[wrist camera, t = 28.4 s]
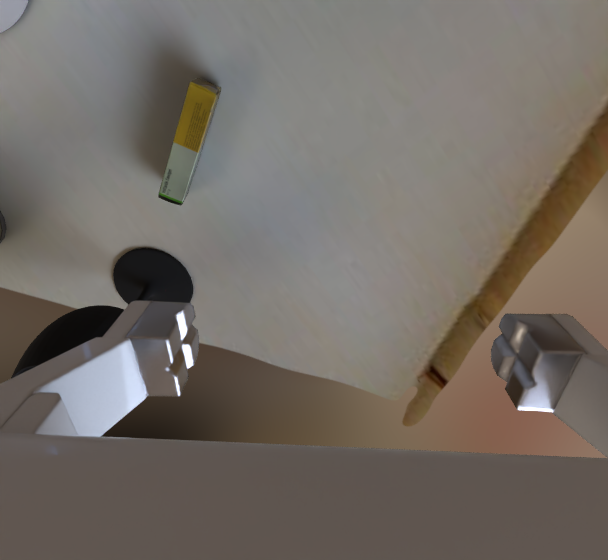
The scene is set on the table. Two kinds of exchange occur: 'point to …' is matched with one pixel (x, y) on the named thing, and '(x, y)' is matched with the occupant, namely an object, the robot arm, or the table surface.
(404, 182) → the table surface
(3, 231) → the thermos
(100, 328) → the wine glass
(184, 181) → the medication box
